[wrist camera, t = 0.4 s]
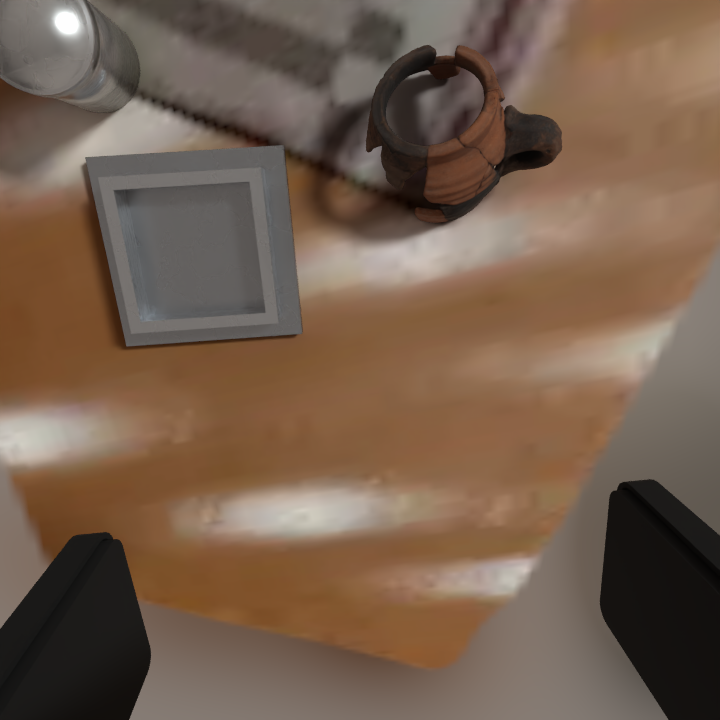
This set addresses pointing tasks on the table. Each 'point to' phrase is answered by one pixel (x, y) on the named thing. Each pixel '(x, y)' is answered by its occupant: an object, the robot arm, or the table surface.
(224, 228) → the duct collar
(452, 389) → the table surface
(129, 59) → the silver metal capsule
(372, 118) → the pottery mug
